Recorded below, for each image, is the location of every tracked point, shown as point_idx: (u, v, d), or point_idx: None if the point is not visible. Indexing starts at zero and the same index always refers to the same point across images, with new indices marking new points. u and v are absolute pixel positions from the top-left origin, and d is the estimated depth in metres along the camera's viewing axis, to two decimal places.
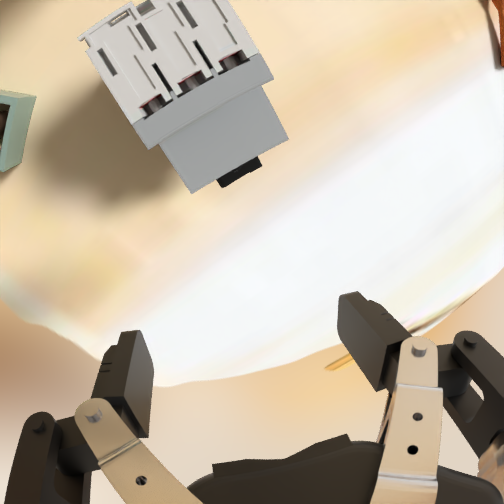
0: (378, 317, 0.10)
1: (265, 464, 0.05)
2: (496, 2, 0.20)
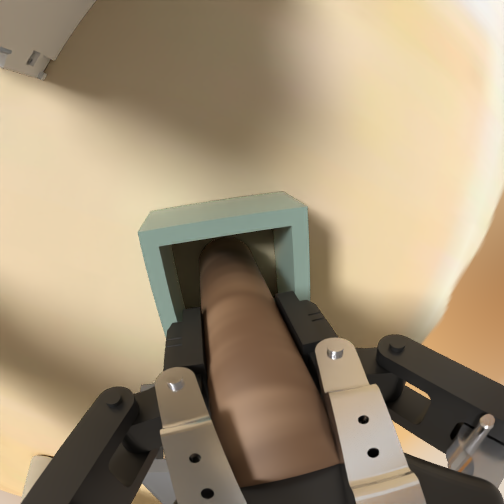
0: (304, 316, 0.10)
1: None
2: None
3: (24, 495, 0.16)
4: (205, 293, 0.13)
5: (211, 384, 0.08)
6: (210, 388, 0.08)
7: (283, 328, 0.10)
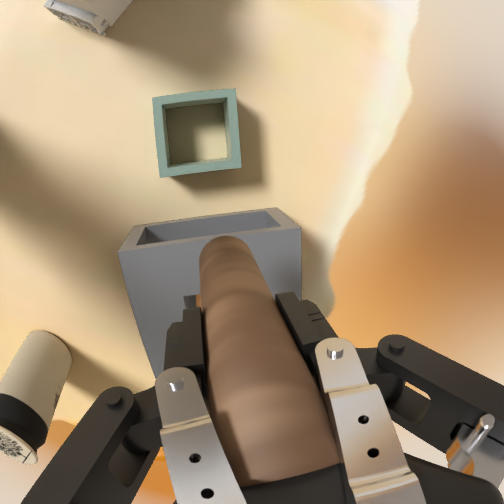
0: (304, 316, 0.10)
1: None
2: None
3: (12, 361, 0.27)
4: (205, 291, 0.13)
5: (211, 382, 0.08)
6: (210, 386, 0.08)
7: (283, 326, 0.10)
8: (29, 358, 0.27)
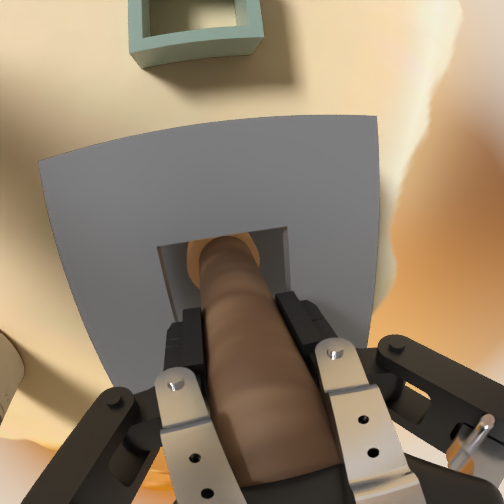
0: (304, 316, 0.10)
1: None
2: None
3: None
4: (205, 292, 0.13)
5: (211, 383, 0.08)
6: (210, 387, 0.08)
7: (283, 327, 0.10)
8: None
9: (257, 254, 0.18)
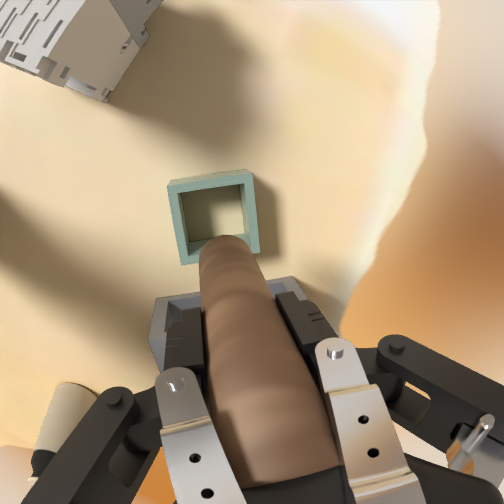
0: (304, 316, 0.10)
1: None
2: None
3: (47, 415, 0.29)
4: (205, 292, 0.13)
5: (211, 384, 0.08)
6: (210, 388, 0.08)
7: (283, 327, 0.10)
8: (64, 413, 0.30)
9: None
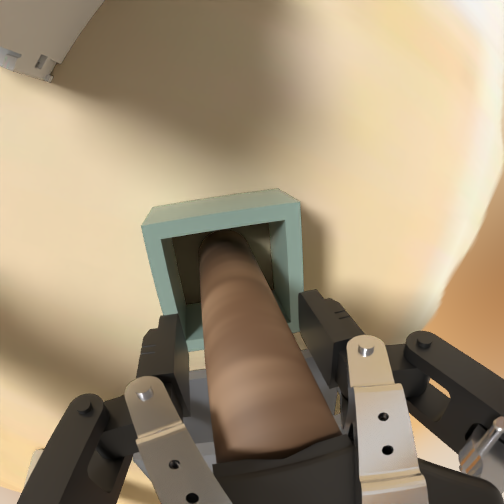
0: (331, 315, 0.10)
1: (265, 464, 0.05)
2: None
3: None
4: (204, 280, 0.14)
5: (208, 359, 0.09)
6: (207, 363, 0.09)
7: (276, 309, 0.11)
8: None
9: None
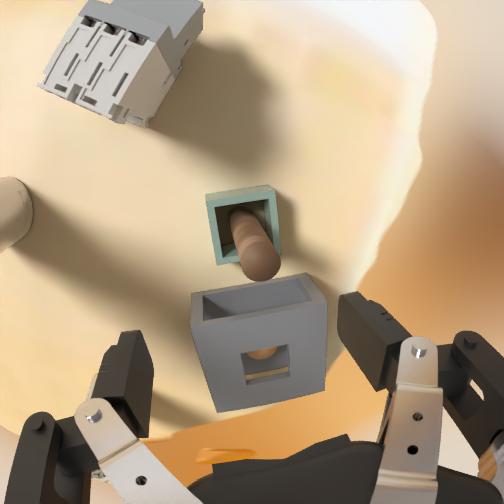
0: (378, 317, 0.10)
1: (265, 464, 0.05)
2: None
3: None
4: (233, 224, 0.32)
5: (238, 242, 0.27)
6: (237, 243, 0.27)
7: (262, 229, 0.29)
8: None
9: None
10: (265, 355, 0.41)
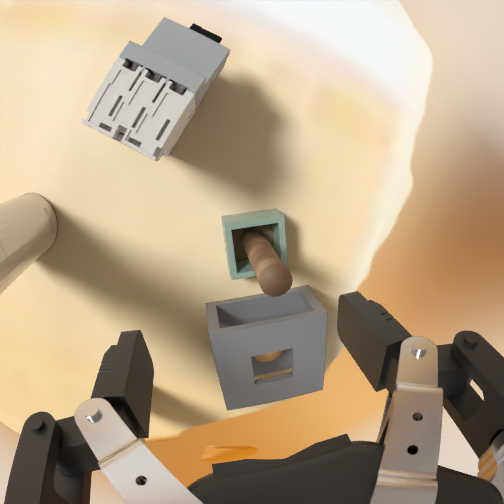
0: (378, 317, 0.10)
1: (265, 465, 0.05)
2: None
3: None
4: (248, 245, 0.37)
5: (255, 263, 0.32)
6: (255, 264, 0.32)
7: (274, 251, 0.34)
8: None
9: None
10: (270, 358, 0.46)
